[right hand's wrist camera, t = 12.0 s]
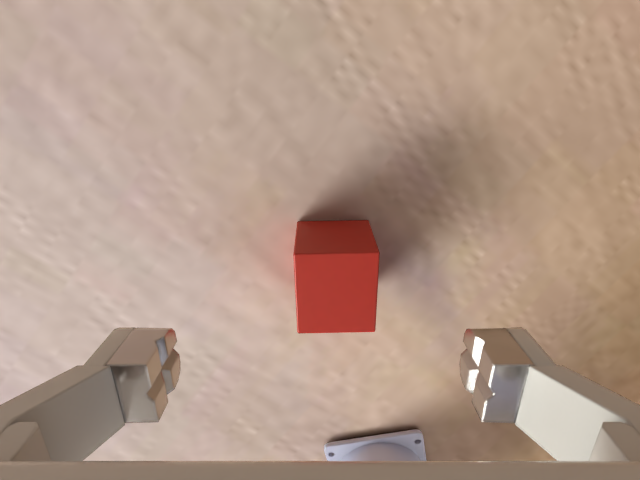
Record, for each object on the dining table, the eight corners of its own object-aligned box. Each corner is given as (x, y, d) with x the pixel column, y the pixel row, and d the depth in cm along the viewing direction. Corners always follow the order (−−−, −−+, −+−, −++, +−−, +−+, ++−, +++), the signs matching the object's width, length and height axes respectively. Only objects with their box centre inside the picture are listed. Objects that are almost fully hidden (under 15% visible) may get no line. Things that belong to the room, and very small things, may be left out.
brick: (365, 289, 25) (375, 332, 21) (300, 290, 25) (297, 333, 21) (368, 219, 23) (379, 252, 19) (297, 220, 23) (293, 254, 19)
